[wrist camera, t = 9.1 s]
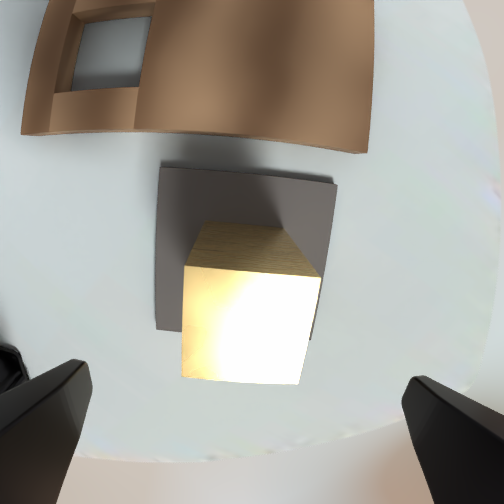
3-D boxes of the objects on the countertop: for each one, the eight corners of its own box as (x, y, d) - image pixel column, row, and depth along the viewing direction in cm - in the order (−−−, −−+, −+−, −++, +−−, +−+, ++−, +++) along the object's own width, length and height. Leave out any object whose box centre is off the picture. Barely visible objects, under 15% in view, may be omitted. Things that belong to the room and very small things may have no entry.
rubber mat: (158, 324, 20) (156, 329, 19) (162, 167, 17) (160, 167, 17) (308, 335, 21) (310, 340, 20) (334, 184, 18) (337, 184, 17)
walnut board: (37, 136, 16) (20, 134, 14) (65, 2, 13) (52, -8, 11) (354, 153, 18) (367, 153, 16) (362, 11, 15) (373, -1, 13)
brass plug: (199, 293, 19) (181, 376, 11) (205, 220, 18) (184, 265, 10) (273, 299, 19) (297, 383, 11) (283, 228, 18) (321, 277, 10)
